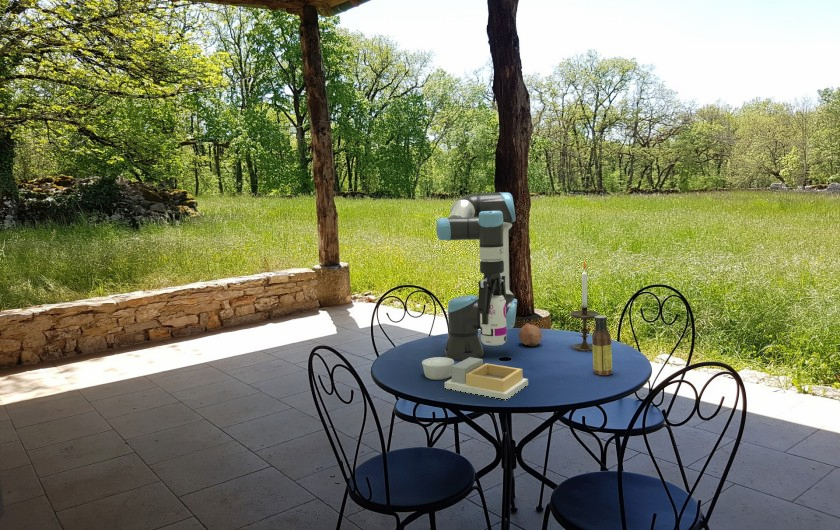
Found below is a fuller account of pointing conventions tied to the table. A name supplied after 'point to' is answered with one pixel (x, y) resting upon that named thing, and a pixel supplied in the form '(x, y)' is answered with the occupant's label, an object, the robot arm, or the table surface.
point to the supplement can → (496, 322)
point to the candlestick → (584, 316)
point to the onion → (530, 335)
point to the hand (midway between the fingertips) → (493, 331)
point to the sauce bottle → (601, 347)
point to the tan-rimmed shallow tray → (486, 379)
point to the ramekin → (438, 367)
